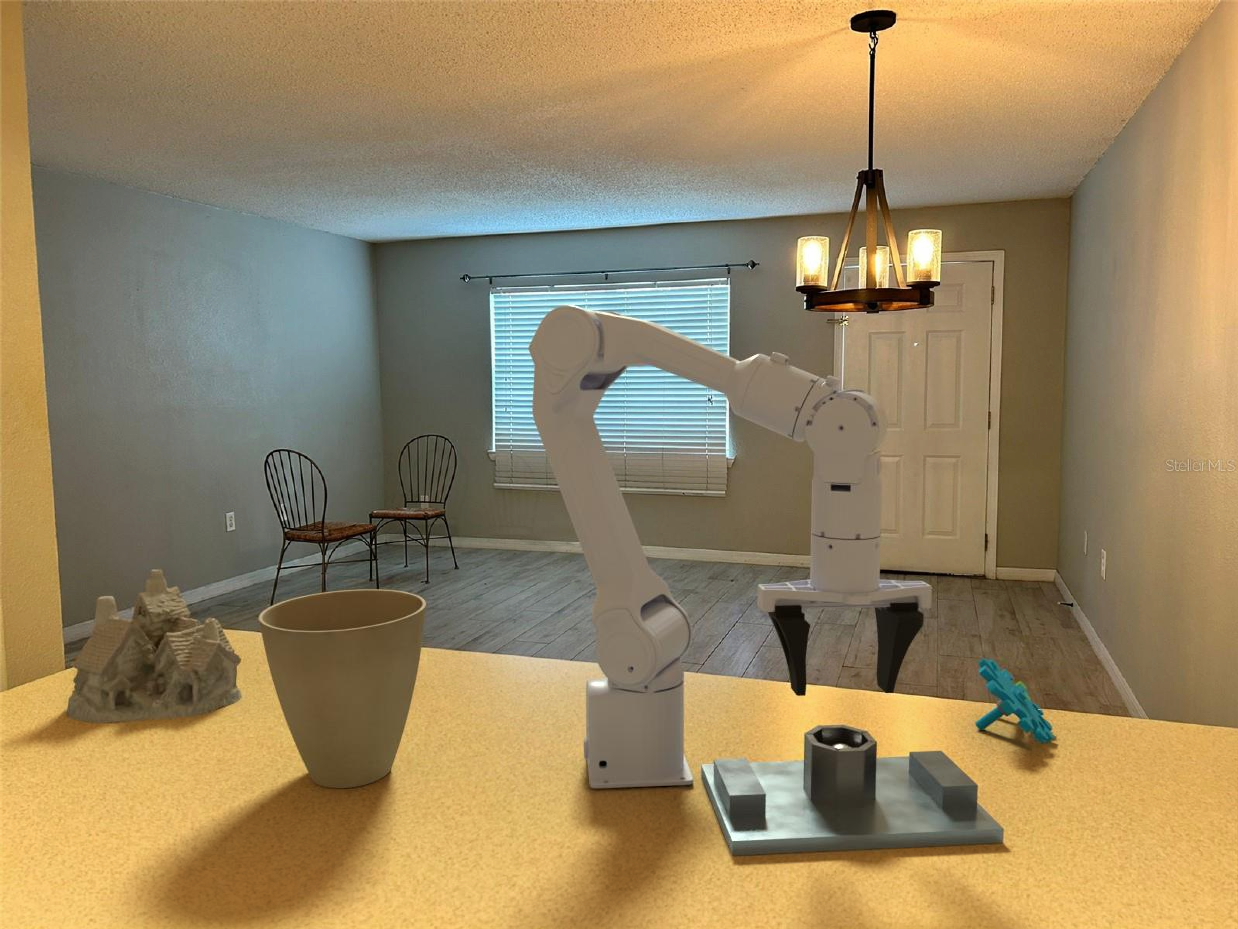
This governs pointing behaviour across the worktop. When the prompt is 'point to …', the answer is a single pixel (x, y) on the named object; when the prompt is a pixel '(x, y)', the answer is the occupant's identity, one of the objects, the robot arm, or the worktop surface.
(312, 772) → the plant pot
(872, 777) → the collar
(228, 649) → the ceramic cottage
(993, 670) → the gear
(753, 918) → the worktop surface
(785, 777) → the shaft mount
